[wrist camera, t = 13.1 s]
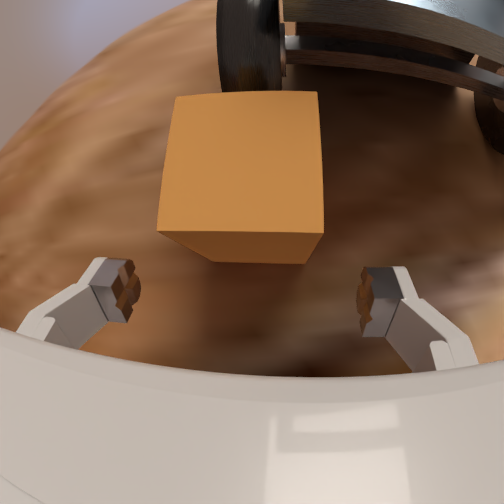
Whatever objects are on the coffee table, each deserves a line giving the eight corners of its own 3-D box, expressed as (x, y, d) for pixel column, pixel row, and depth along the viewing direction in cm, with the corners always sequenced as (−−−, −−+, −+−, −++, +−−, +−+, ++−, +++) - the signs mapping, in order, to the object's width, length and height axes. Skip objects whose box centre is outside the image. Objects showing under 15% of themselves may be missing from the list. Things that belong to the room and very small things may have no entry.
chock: (304, 264, 17) (324, 233, 9) (213, 261, 17) (156, 230, 9) (304, 176, 17) (317, 91, 9) (218, 176, 18) (176, 97, 10)
